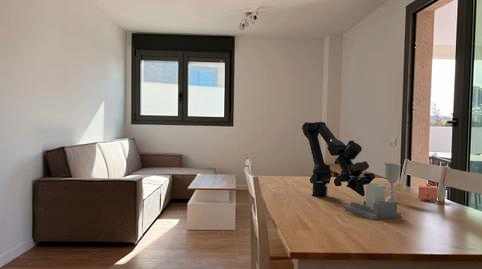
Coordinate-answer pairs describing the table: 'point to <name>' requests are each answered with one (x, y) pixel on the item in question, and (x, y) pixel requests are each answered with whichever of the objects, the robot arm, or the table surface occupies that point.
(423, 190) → the pink cube teapot
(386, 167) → the chalice
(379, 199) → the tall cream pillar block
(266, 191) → the table surface
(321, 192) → the robot arm
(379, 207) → the track
